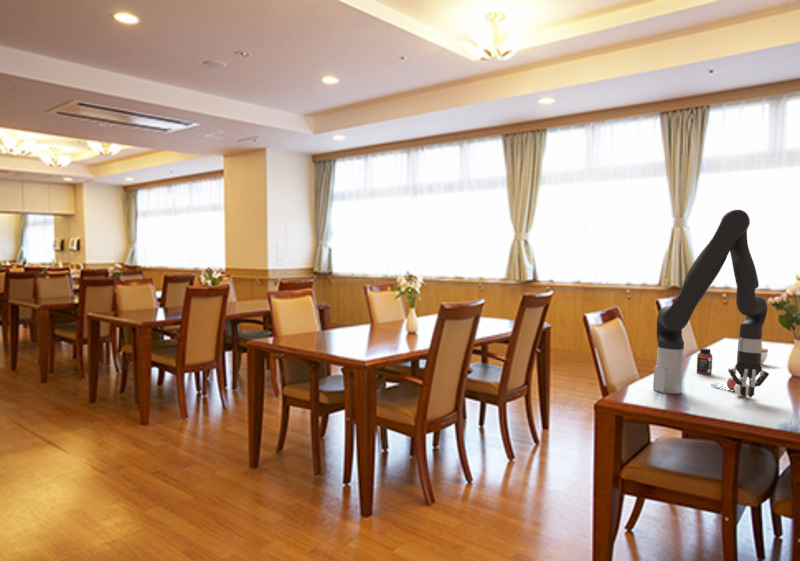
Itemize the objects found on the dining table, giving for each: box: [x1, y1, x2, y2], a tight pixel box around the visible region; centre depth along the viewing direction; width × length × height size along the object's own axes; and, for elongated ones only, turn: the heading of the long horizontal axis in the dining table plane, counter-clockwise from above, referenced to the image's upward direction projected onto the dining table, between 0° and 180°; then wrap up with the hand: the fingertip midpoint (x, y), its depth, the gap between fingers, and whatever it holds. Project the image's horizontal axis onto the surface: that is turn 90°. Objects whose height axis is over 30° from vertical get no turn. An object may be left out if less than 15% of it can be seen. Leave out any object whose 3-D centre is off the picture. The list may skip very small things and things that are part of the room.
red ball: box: [726, 376, 740, 391], centre depth 221 cm, size 6×6×6 cm
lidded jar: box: [761, 347, 769, 365], centre depth 278 cm, size 11×11×9 cm
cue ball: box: [734, 382, 750, 398], centre depth 212 cm, size 6×6×6 cm
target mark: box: [710, 382, 731, 392], centre depth 226 cm, size 14×14×1 cm
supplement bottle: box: [696, 347, 713, 376], centre depth 251 cm, size 6×6×11 cm
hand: (746, 396), depth 207 cm, fingers closed
